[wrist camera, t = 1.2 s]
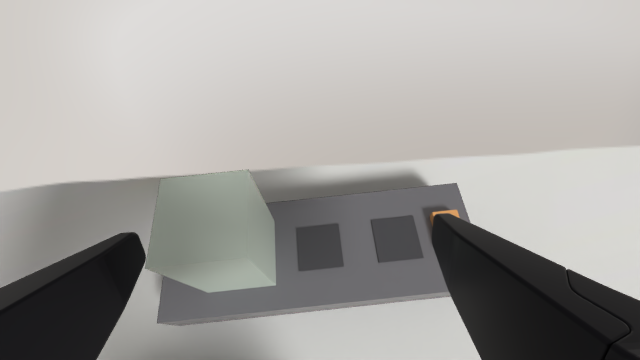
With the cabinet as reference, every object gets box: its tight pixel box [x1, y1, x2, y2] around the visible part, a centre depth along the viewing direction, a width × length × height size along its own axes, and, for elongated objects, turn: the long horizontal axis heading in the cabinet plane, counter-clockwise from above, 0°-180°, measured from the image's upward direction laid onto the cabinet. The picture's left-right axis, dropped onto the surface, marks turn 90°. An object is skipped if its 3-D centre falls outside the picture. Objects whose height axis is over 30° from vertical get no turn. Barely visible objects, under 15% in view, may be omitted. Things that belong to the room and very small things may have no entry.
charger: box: [145, 170, 276, 293], centre depth 18 cm, size 4×4×10 cm
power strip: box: [157, 183, 470, 326], centre depth 21 cm, size 20×7×4 cm, turn 95°
